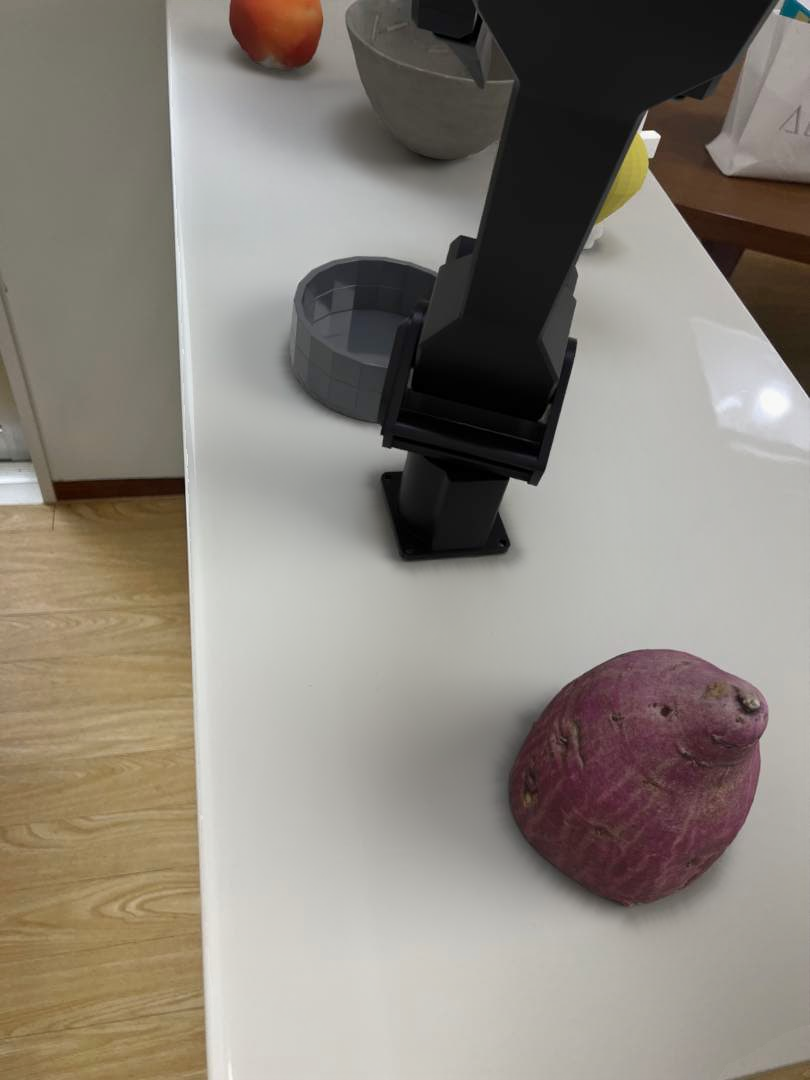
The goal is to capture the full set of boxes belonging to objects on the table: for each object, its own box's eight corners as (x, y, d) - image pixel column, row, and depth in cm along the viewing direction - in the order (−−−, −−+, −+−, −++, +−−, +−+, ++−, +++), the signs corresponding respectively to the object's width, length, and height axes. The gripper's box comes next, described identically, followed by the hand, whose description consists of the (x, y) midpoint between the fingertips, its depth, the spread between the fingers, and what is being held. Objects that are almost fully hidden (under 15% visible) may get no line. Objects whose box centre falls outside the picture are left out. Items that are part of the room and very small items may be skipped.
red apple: (326, 84, 87) (334, -5, 81) (232, 77, 85) (233, -16, 79) (312, 45, 93) (319, -42, 87) (224, 37, 90) (224, -52, 84)
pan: (485, 421, 58) (501, 367, 54) (304, 426, 55) (310, 369, 51) (440, 311, 65) (453, 257, 62) (279, 310, 62) (282, 254, 59)
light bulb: (527, 223, 76) (561, 106, 68) (590, 217, 78) (630, 103, 71) (567, 267, 72) (608, 148, 65) (632, 259, 75) (678, 144, 67)
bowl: (455, 90, 91) (477, -18, 83) (570, 181, 82) (606, 69, 74) (296, 108, 82) (304, -10, 75) (404, 212, 73) (426, 88, 66)
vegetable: (684, 936, 41) (927, 934, 28) (478, 869, 40) (628, 834, 27) (708, 724, 46) (925, 635, 33) (525, 659, 45) (671, 541, 32)
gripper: (810, -185, 46) (703, 32, 62) (466, -271, 46) (445, -33, 62) (770, -4, 44) (670, 173, 60) (413, -95, 45) (405, 105, 60)
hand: (547, 99), depth 60 cm, fingers open, 9 cm apart
